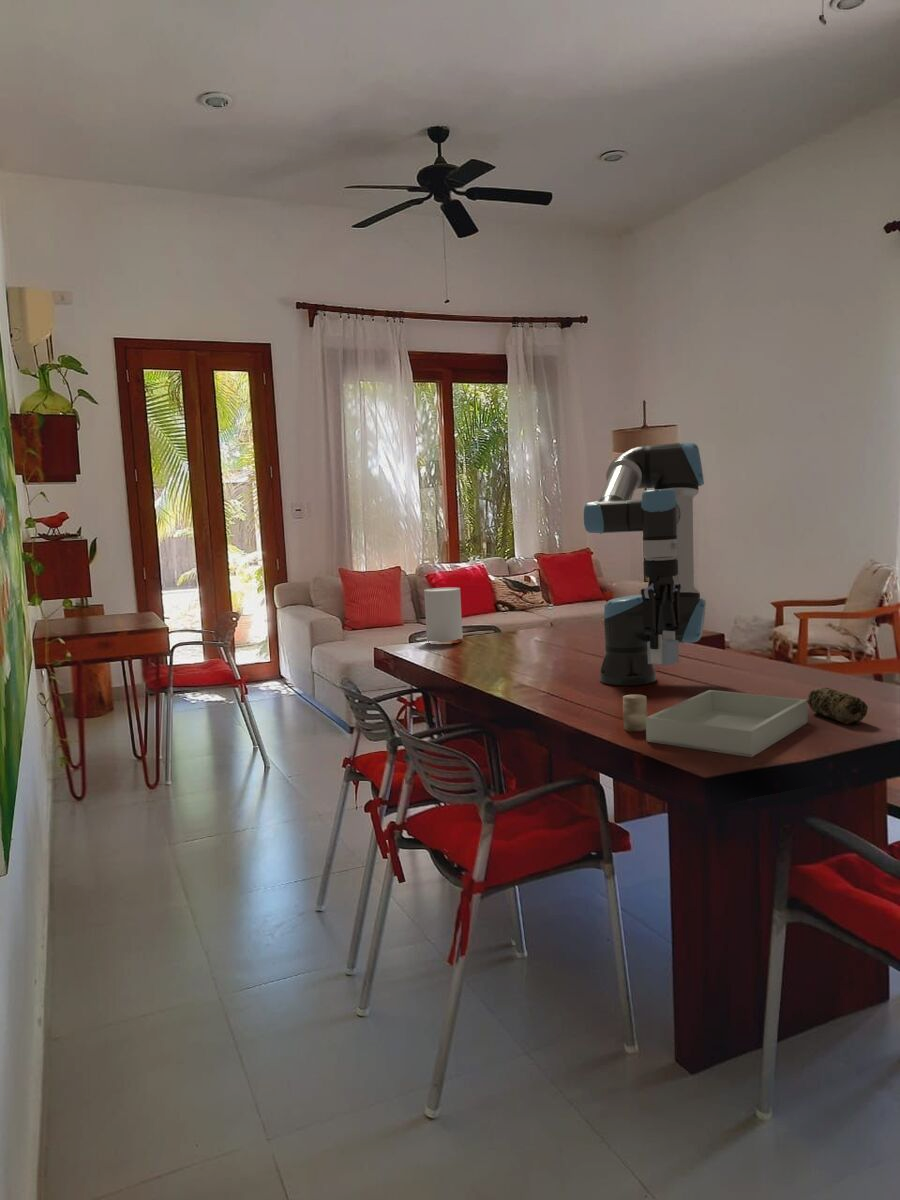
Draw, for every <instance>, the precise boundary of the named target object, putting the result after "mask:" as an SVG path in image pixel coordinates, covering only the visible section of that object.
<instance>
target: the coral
mask: <svg viewBox="0 0 900 1200" xmlns="http://www.w3.org/2000/svg"><path fill="white" fill-rule="evenodd" d="M806 700H807V705H808V708H809V709H811V711H812V712H814V713H815V714H818V715H821V716H825V717H826V718H828V719H832V720H835V721H837V722H840V723H842V724H845V725H850V724H856V723H859V722H860V721H862V720H863V719H864V718H865V717H866V716H867V713H868V710H869V707H868V704H866V702H865V701H864V700H862V699H861V698H860V697H857V696H854V695H852V694H849V693H845V692H842V691H839V690H837V689H833V688H830V687H821V688H818V689H816V690H815V689H813V690H810V691H809V693H808V699H806Z"/></svg>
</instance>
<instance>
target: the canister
mask: <svg viewBox="0 0 900 1200" xmlns="http://www.w3.org/2000/svg"><path fill="white" fill-rule="evenodd" d="M423 596H424V609H425V611H424V612H425V631H426V642H427V641H428V642H429V641H438V642H446V641H451V640H457V639H462V638H463V619H462V601H461V600H462V598H461V588H460V587H435V588H426V589H423Z"/></svg>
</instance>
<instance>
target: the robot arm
mask: <svg viewBox="0 0 900 1200" xmlns="http://www.w3.org/2000/svg"><path fill="white" fill-rule="evenodd" d="M609 464H610V465H609V466H608V468H607V470H606V475H605V478H606V479H605V480H606V483H605V485H604V488H603V490H602V492H601V495H600V496H599V498H598V499H599V500H594V501H589V502H586V503H585V504H584V507H583V524H584V529H585V531H586V532H587V533H589V534H600V535H601V534H611V533H612V534H614V533H628V532H629V533H632V532H633V533H634V532H635V533H637V532H642V558H644V561H643V575H644V577H646V578H648V583H647V587H646V588H642V589H641V590H640V594H632V595H626V596H620V597H616V598H612V599H610V600H607V601H606V602H605V604H604V606H603V607H604V609H603V610H604V611H603V613H604V614H603V620H604V623H603V624H604V647H605V651H604V652H605V653H604V657H603V660H602V664H601V668H600V670H599V680H600V682H601V683H602V684H606V685H610V686H611V685H613V686H641V685H647V684H652V683H655V682H656V680H657V675H656V673H657V672H656V669H655V667H654V664H648V651H647V642H649V641H650V660H651V663H656V664H663V644H662V639H666V640H678V644H685V643H697V642H699V641H700V640H701V638H702V635H703V629H704V625H705V617H706V616H705V615H706V603H707V602H706V600H705V599H704V598H701V595H700V594H701V593H700V591H699V590H698V589H697V588H696V587H695V582H694V581H695V576H694V574H695V573H694V572H695V571H694V568H695V566H694V564H695V563H694V561H695V559H694V507H693V506H694V502H693V501H694V500H693V499H694V498H695V497H696V495H698V494H699V487H702V486H703V485H705V484H704V483H705V481H704V474H703V466H702V461H701V454H700V448H699V446H698V444H696V443H693V442H677V443H676V442H675V443H674V442H673V443H665V444H655V445H654V444H652V445H640V446H636V447H632V448H631V449H628V450H626V451H625V452H623V453H621V454H620V455H618V456H617V457H615V458H614V460H612V462H611V463H609ZM638 489H639V490H640V489H646V490H644V491H643V492H642V494H641V499H632V498H633V496H634V493H635V491H636V490H638ZM656 664H655V665H656Z"/></svg>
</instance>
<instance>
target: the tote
mask: <svg viewBox="0 0 900 1200" xmlns="http://www.w3.org/2000/svg"><path fill="white" fill-rule="evenodd" d="M807 700H808V699H805V698H804V699H802V698H793V697H792V698H791V697H783V696H774V695H773V696H772V695H764V694H754V693H753V694H752V693H747V692H746V693H744V692H737V691H736V692H735V691H725V690H715V689H708V690H705V691H704V692H701V693H699V694H697V695H695V696H692V697H690V698H687V699H685V700H682V701H681V702H678V703H675V704H673V705H671V706H669V707H667V708H664V709H662V710H659V711H658V712H655V713H653V714H651V715H647V717H646V730H645V735H646V736H645V737H646V738H645V739H646V742H649V743H654V744H661V745H668V746H675V747H682V748H686V749H693V750H694V749H695V750H699V751H708V752H715V753H719V754H727V755H734V756H741V757H747V758H753V757H754V756H756V755H758V754H759V753H761V752H763V751H765V750H767V748H769V747H771V746H773V745H774V744H776V743H777V742H779V741H780V740H783V738H785V737H787V736H788V735H790V734H791V733H794V732H795V731H797V730H799V729H800V728H801V727H803V726H804V725H806V724H808V721H809V719H808V703H807Z"/></svg>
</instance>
